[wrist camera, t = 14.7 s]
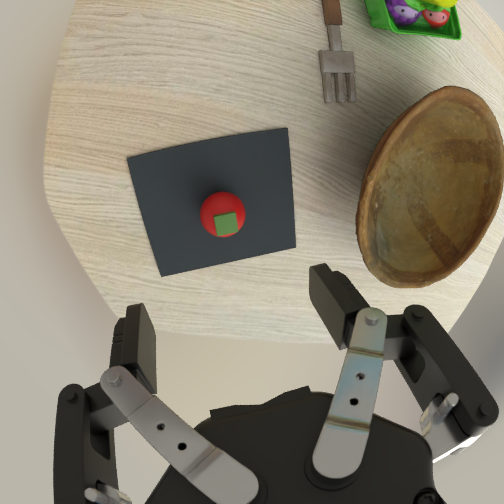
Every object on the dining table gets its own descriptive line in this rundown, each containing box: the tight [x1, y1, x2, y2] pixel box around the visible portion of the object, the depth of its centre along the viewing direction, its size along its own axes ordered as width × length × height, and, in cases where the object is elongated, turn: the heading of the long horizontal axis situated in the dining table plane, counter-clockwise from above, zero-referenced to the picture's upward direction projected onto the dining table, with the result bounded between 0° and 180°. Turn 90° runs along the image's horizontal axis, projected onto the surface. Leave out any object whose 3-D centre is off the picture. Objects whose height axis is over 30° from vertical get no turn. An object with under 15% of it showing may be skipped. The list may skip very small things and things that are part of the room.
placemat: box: [127, 128, 296, 277], centre depth 31 cm, size 16×14×1 cm
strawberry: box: [200, 192, 246, 237], centre depth 29 cm, size 4×4×4 cm
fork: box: [319, 0, 356, 103], centre depth 22 cm, size 20×4×1 cm, turn 7°
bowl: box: [355, 86, 504, 288], centre depth 29 cm, size 22×23×10 cm
